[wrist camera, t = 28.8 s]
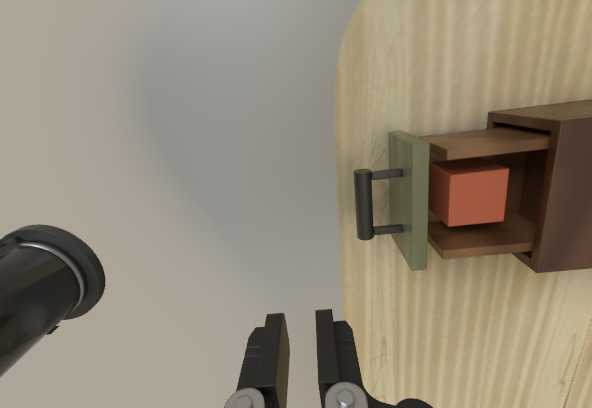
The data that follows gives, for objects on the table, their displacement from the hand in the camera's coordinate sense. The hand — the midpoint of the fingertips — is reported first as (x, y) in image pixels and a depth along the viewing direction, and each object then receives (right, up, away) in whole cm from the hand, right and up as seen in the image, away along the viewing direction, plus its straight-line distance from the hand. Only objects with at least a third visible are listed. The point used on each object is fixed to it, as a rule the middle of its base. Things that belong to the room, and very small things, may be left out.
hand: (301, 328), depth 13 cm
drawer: (+13, +8, +16) cm, 22 cm away
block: (+14, +7, +15) cm, 22 cm away
